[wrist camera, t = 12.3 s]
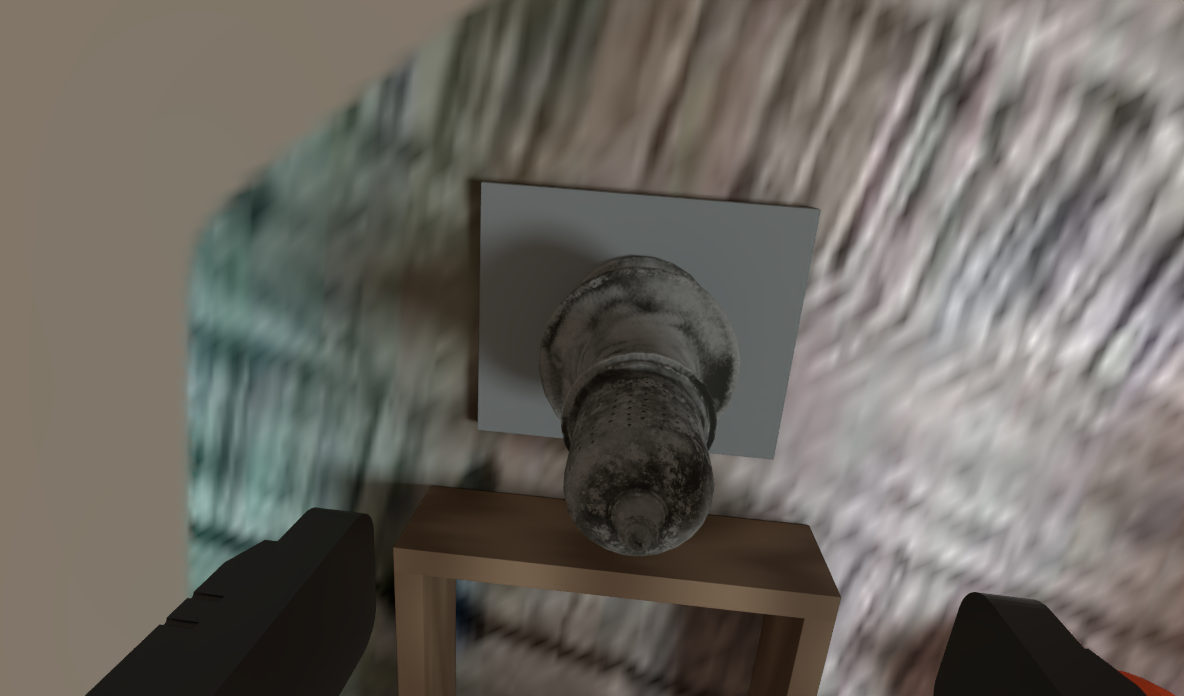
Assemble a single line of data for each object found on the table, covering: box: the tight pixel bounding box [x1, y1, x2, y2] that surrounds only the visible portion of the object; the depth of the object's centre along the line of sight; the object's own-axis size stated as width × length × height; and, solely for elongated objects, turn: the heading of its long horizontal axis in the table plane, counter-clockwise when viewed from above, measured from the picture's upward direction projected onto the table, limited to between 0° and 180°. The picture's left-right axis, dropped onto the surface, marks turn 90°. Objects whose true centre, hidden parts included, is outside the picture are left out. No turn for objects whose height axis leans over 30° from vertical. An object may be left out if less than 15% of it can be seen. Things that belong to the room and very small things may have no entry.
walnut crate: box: [393, 486, 841, 696], centre depth 25 cm, size 15×15×4 cm
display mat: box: [478, 181, 820, 459], centre depth 21 cm, size 11×9×1 cm
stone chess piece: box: [539, 256, 740, 556], centre depth 15 cm, size 6×6×12 cm
